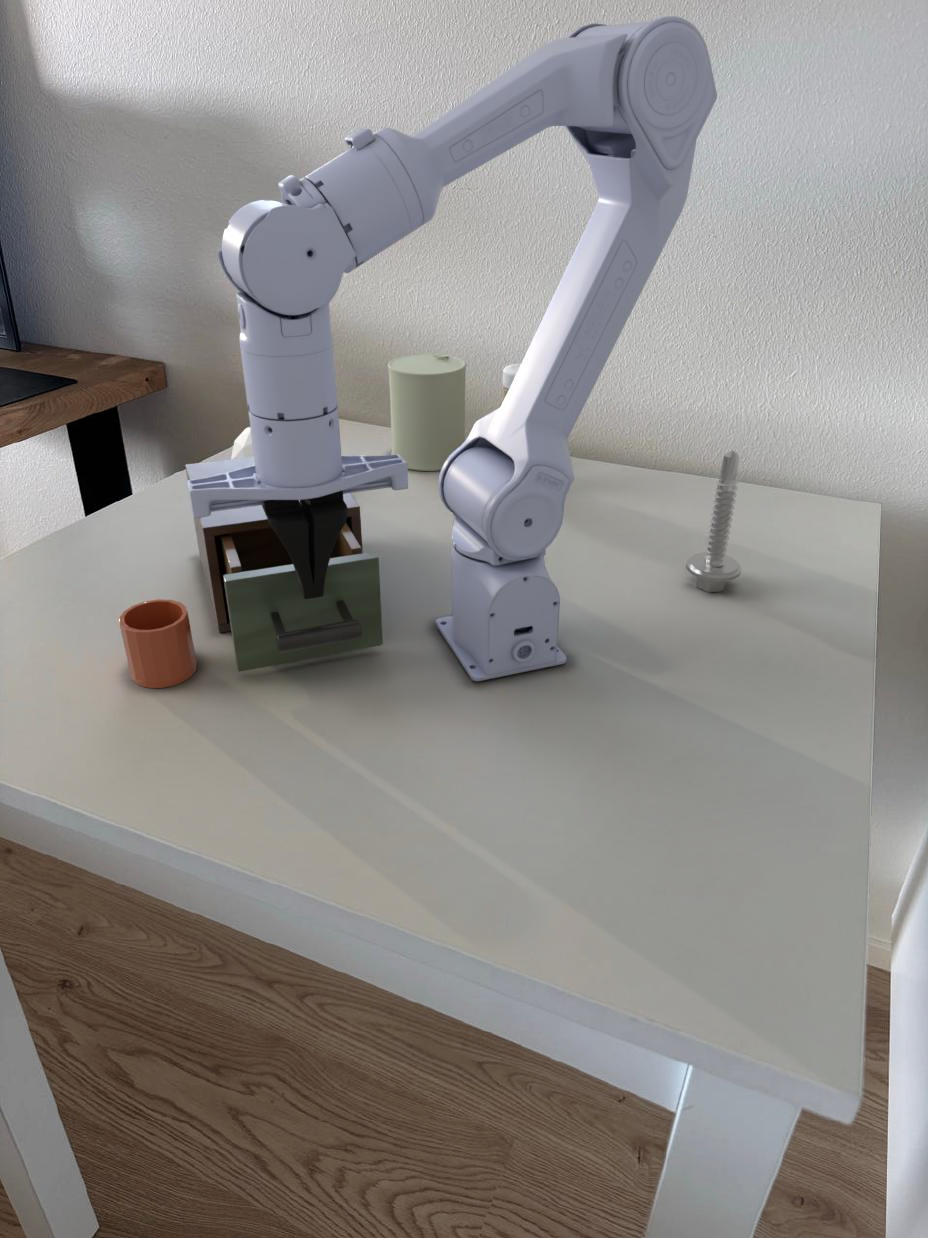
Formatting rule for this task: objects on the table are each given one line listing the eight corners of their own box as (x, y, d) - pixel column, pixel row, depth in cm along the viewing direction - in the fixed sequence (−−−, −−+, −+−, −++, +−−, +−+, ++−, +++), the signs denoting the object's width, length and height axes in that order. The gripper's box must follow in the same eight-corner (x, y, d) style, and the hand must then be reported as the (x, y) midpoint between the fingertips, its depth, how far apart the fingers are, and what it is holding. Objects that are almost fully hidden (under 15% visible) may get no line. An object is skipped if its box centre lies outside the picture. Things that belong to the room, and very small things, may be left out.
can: (479, 453, 112) (481, 355, 106) (440, 476, 106) (439, 374, 99) (417, 439, 116) (415, 345, 110) (376, 462, 110) (371, 362, 103)
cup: (200, 681, 69) (190, 625, 67) (133, 693, 68) (120, 637, 65) (193, 648, 73) (184, 594, 71) (130, 660, 72) (118, 605, 69)
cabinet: (366, 607, 79) (360, 506, 74) (219, 633, 75) (202, 528, 70) (328, 539, 91) (321, 448, 86) (200, 558, 87) (185, 464, 82)
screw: (740, 578, 84) (734, 602, 80) (688, 569, 85) (679, 593, 82) (764, 444, 77) (759, 463, 73) (707, 437, 79) (698, 455, 75)
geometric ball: (254, 513, 103) (213, 453, 102) (312, 476, 105) (272, 417, 104) (261, 504, 96) (217, 439, 94) (323, 465, 98) (280, 401, 97)
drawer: (400, 676, 68) (396, 585, 64) (247, 706, 65) (234, 612, 61) (343, 571, 83) (337, 492, 79) (216, 591, 80) (204, 509, 76)
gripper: (384, 379, 64) (392, 552, 71) (171, 400, 59) (202, 583, 66) (415, 408, 58) (420, 594, 65) (181, 434, 54) (213, 630, 61)
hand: (311, 591), depth 65 cm, fingers closed
